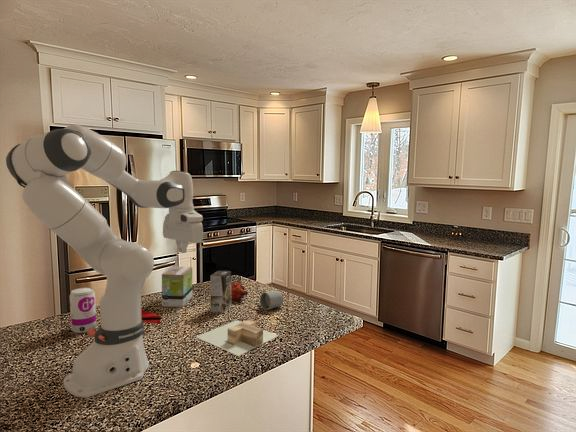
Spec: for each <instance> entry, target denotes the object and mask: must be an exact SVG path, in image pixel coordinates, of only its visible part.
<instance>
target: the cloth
mask: <svg viewBox="0 0 576 432" xmlns="http://www.w3.org/2000/svg"><path fill="white" fill-rule="evenodd" d="M141 319H142V320H143V324H144V323H148V324H160V325H161V324H164V323H163V322H161V320H163V319H162V317H161V316H159V315H157V314H156V313H153V312H149V311H145V310H144V309H142V308H141ZM159 319H160V320H159Z"/></svg>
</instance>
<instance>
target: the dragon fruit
mask: <svg viewBox="0 0 576 432" xmlns="http://www.w3.org/2000/svg"><path fill="white" fill-rule="evenodd" d="M247 295H248V291H247V290H246V288H245V286H243V283H239V281H233V282H231V299H233V300H234V301H236V302H237V301H238V302H239V301H240V300H239V299H244V298H245V296H247Z"/></svg>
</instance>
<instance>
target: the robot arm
mask: <svg viewBox="0 0 576 432" xmlns="http://www.w3.org/2000/svg"><path fill="white" fill-rule="evenodd" d="M5 164H6V168H7V170H8V172H9V174H10V175H11V176H12V177H13V178H14V179H15V180H16V182H17V184H18V185H19V186H20V187H22V188H23V191H22V194H21V195H22V201H23V203H24V204H25V206H27V208H28V209H29V210H30V212H32V213H33V215H34V216H36V217H37V219H38V220H39V221H41V223H42V224H44V225H45V226H46V227H47V228H48V229H49V230H51V231H52V232H53V233H54V234H56V235H57V237H59V239H61V240H62V241H63V242H65V243H66V244H68V245H69V246H70V247H71V248H72V249H73V250H74V251H75V253H77V254H78V256H80V258H81V259H82V260H83V261H84V262H86V264H87V265H89V267H91V269H92V270H93V271H95V272H97V273H98V274H101V275H103V276H106V285H105V288H104V289H105V290H104V294H103V295H102V296H101V297H100V300H99V317H100V318H99V319H100V325H99V327H98V329H97V330H96V329H95V328H94V329H93V328H90V329H89V331H87V332H86V333H87V335H88V336H90V337H92V338H93V337H94V340H93V341H92V342H91V343H90V344H89V345H88V346H87V347H86V348H85V349H84V350H83V351H82V352H81V353H80V354H79V355H77V357H76V358H75V359H74V362H73V365H72V373H69V374H67V375H66V376H64V378H63V387H64V389H65V390H66V392H68V393H70V394H71V395H73V396H74V397H78V398H89V397H93V396H96V395H98V394H102V393H104V392H107V391H111V390H114V389H116V388H119V387H122V386H125V385H128V384H131V383H134V382H138V381H140V380H141V379H143V378H144V374H145V372H146V370H148V369H149V367H150V362H149V360H148V357H147V354H146V349H145V343H144V338H143V337H144V335H145V334H144V333H145V332H144V329H145V328H144V323H143V320H142V319H141V309H142V295H143V294H142V293H143V289H144V284H145V281H146V279H147V278H148V277H149V276H150V275H151V274H152V272H153V270H154V266H155V259H154V256H153V253H152V252H151V251H150V250H148V249H147V248H145V246H143V245H141V244H139V243H136V242H133V241H132V242H131V241H127V240H124V239H122V238H120V237H119V236H118V235H116V234H115V233H114V231H113V229H111V227H110V225H109V224H108V221H107V219H106V218H105V217H104V215H103V214H101V213H100V212H99V211H98V210H97V209H96V208H95V207H94V206H93V205H92V204H91V203H90V202H89V201H88V200H87V199H86V198H84V196H82V195H81V194H80V193H79V192H78V191H77V190H75V189H74V188H73V187H72V186H71V185H70V182H69V180H68V178H67V175H69V174H70V173H73V172H76V171H78V170H80V169H81V170H84V171H85V172H87V173H89V174H90V175H92V176H95V177H97V178H99V179H101V180H103V181H105V182H106V183H108V184H109V185H111V186H112V187H114V188H115V189H117V190H119V191H120V192H122V193H123V194H125V195H126V196H127V197H128V198H129V200H130V202H132V204H133V205H134V206H136V207H138V208H142V209H145V208H149V209H150V208H152V209H153V208H154V209H168V213H167V214H166V215H165V216H164V219H163V222H162V235H163V238H165V239H169V240H173V241H175V244H176V246H177V252H178V253H182V254H185V253H187V250H188V246H189V243H191V244H199V243H200V244H201V243H202V241H203V239H204V226H203V223H202V222H203V220H204V217H203V215H202V214H200V213H198V212H197V211H196V210H195V208H194V207H195V206H194V203H193V202H194V201H193V199H194V184H193V178H192V175H191V174H190V173H189V172H187V171H182V170H181V171H180V170H171V171H170V172H169V174H168V175H167V176H165V177H163V178H161V179H158V180H155V179H154V180H149V179H148V180H147V179H138V178H136V177H134V175H131V173H129V172H127V170H125V169H126V168H127V155H126V153H125V152H124V151H123V150H122V149H121V147H119V146H118V145H117V144H116V143H115V142H112V141H111V140H110V139H108V138H107V137H105V136H103V135H101V134H99V133H98V132H96V131H95V130H91V129H90V128H88V127H85V126H82V125H80V124H70V125H67V126H66V127H64V128H56V129H52V130H50V131H48V132H46V133H45V132H44V133H41V134H38V135H34V136H32V137H30V138H28V139H26V140H25V141H23V142H20V143H18V144H16V145H15V146H13V147H12V148H11V149H10V150H9V152H8V153H7V155H6V158H5Z"/></svg>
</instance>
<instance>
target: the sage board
mask: <svg viewBox="0 0 576 432" xmlns="http://www.w3.org/2000/svg"><path fill="white" fill-rule="evenodd" d="M243 322H244V321H239V320H234V321H232V322H229V323H226V324H225V325H221V326H218V327H217V328H213V329H212V330H210V331H206V332H204V333H202V334H200V335H196V336H195V338H197V339H199V340H201V341H204V342H206V343H208V344H210V345H213V346H215V347H218V348H219V349H222V350H224V351H226V352H228V353H230V354H233V355H235V356H238V357H240V356H241V355H243V354H246V353H247V352H250V351H251V350H253V349H256V348H257V347H259V346H261V345H264V344H265V343H267V342H269V341H271V340H273V339H276V338H277V337H279V336H280V335H278V334H276V333H273V332H270V331H267V330H266V329H262V330H263V343H261V344H259V345H257V346H255V345H253V344H250V343H248V342H245V341H243V340H242V341H240V342H238V343H236V344H233V343H231V342H228V328H231V327H233V326H235V325H238V324H240V323H243Z"/></svg>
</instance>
